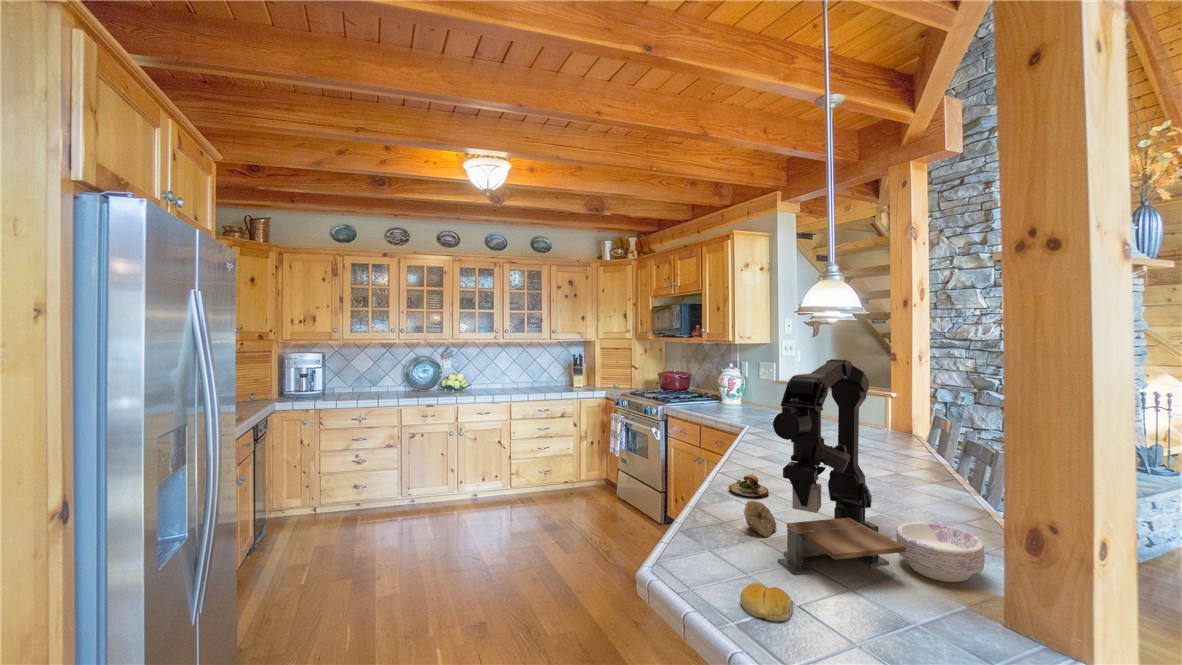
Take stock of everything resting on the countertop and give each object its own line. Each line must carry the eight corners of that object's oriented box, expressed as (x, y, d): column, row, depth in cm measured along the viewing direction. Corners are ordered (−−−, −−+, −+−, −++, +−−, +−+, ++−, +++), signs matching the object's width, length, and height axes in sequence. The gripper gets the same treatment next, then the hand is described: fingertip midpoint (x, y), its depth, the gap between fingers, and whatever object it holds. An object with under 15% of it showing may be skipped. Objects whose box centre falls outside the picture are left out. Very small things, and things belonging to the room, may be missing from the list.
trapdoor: (849, 540, 116) (849, 517, 116) (905, 573, 100) (905, 546, 100) (786, 547, 113) (786, 522, 113) (834, 582, 97) (834, 553, 97)
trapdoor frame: (861, 548, 117) (861, 514, 117) (889, 564, 109) (889, 528, 109) (771, 557, 113) (771, 522, 112) (793, 575, 104) (794, 537, 104)
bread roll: (746, 593, 98) (746, 572, 98) (795, 606, 93) (795, 585, 93) (734, 613, 91) (734, 591, 91) (786, 629, 86) (786, 605, 86)
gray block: (797, 502, 115) (797, 477, 115) (821, 506, 113) (821, 481, 113) (792, 508, 111) (792, 483, 111) (816, 513, 108) (816, 487, 108)
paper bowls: (883, 568, 107) (883, 531, 107) (913, 550, 116) (913, 515, 116) (968, 599, 95) (969, 557, 95) (995, 575, 104) (995, 537, 104)
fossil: (741, 512, 124) (753, 493, 133) (730, 521, 127) (743, 502, 135) (770, 540, 122) (781, 519, 130) (759, 549, 124) (770, 528, 132)
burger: (721, 490, 161) (721, 466, 161) (753, 486, 164) (753, 463, 164) (743, 502, 149) (743, 477, 149) (777, 498, 153) (777, 473, 153)
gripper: (840, 445, 100) (840, 524, 100) (852, 429, 115) (852, 497, 115) (782, 438, 106) (782, 512, 106) (801, 424, 121) (801, 489, 121)
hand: (806, 502), depth 112 cm, fingers closed on gray block, 5 cm apart
